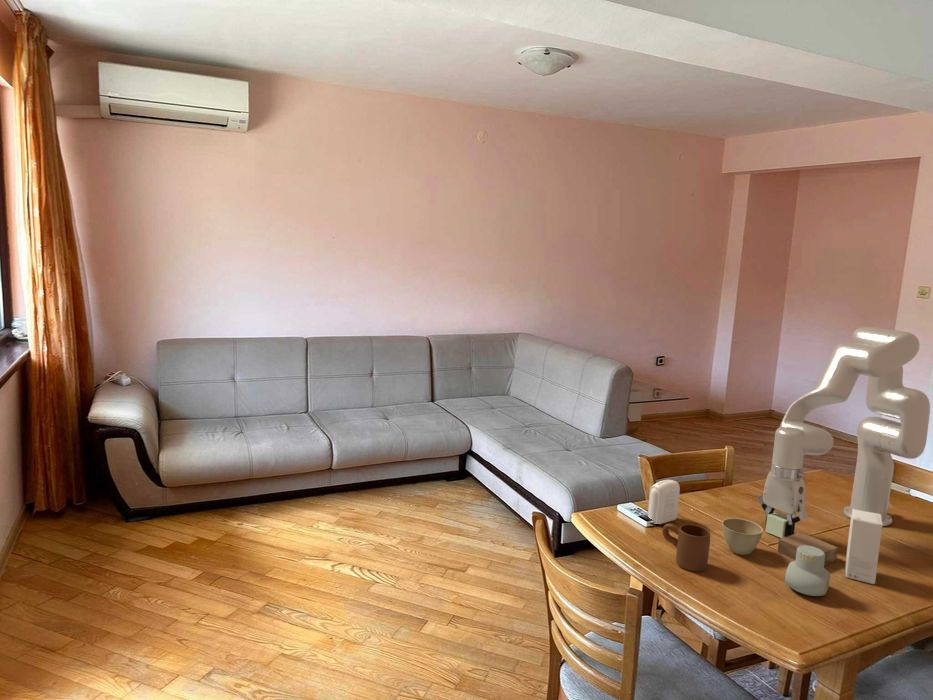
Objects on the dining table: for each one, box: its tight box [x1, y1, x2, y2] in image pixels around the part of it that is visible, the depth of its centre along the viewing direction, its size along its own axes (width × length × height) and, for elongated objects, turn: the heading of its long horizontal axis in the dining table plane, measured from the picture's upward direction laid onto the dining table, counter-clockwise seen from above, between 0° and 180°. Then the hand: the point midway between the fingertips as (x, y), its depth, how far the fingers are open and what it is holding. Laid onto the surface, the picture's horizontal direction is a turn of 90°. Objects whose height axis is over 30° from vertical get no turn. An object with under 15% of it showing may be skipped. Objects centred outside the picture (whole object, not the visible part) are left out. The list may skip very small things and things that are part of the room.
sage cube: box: [765, 511, 788, 539], centre depth 176 cm, size 5×5×5 cm
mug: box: [661, 523, 711, 573], centre depth 158 cm, size 12×8×9 cm, turn 50°
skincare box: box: [845, 509, 883, 585], centre depth 155 cm, size 8×7×16 cm
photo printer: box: [646, 479, 681, 525], centre depth 182 cm, size 10×4×12 cm, turn 123°
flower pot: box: [721, 517, 764, 556], centre depth 166 cm, size 10×10×7 cm
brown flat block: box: [777, 531, 839, 566], centre depth 164 cm, size 10×10×4 cm
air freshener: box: [784, 545, 831, 597], centre depth 147 cm, size 11×8×10 cm
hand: (779, 531), depth 177 cm, fingers closed on sage cube, 5 cm apart
